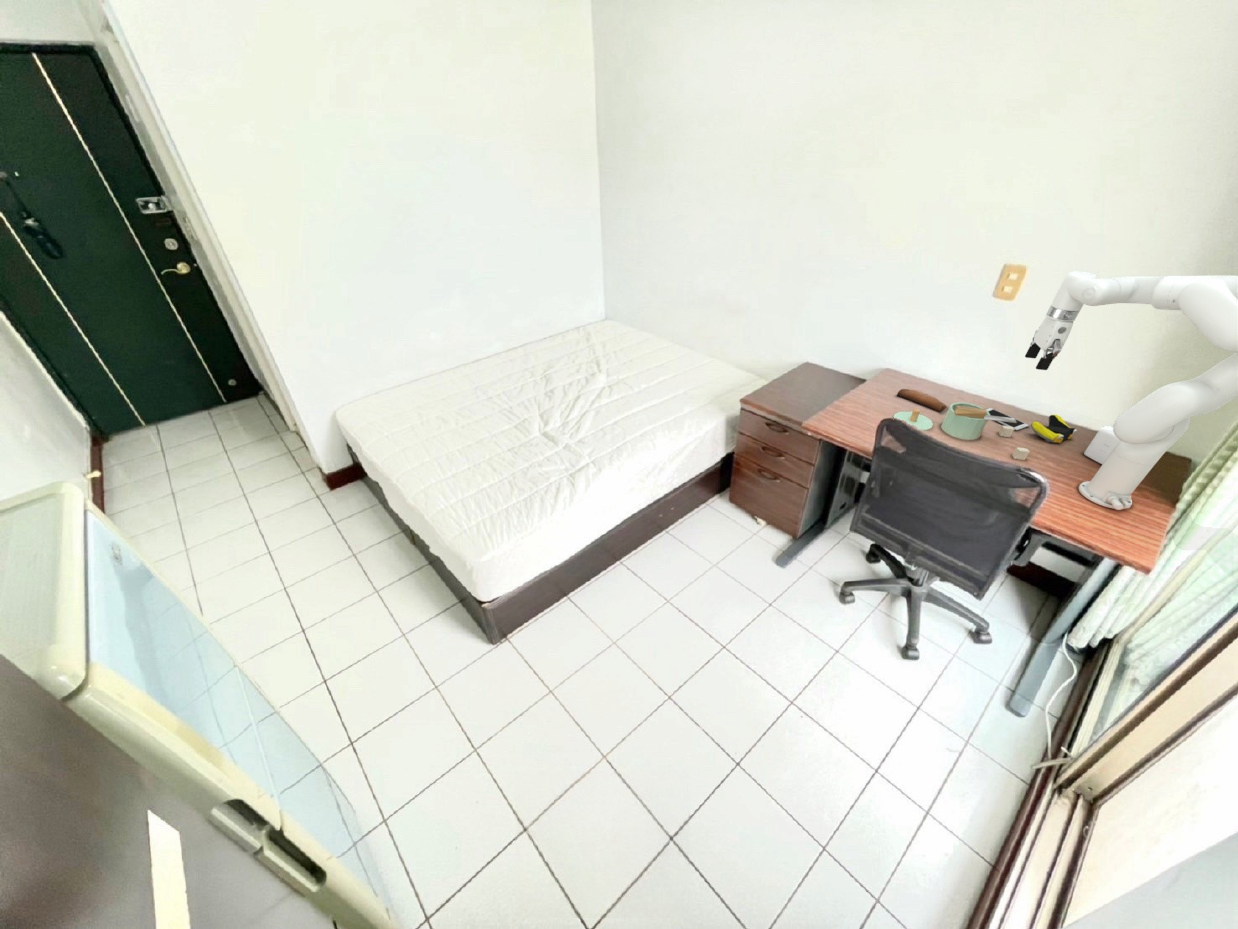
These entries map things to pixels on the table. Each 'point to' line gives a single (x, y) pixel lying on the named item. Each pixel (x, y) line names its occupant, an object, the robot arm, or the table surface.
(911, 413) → the lid
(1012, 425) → the smartphone
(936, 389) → the table surface
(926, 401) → the sunglasses case
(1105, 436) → the photo printer
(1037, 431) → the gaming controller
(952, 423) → the pot
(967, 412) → the knife
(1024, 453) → the pair of cream blocks
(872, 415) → the table surface
